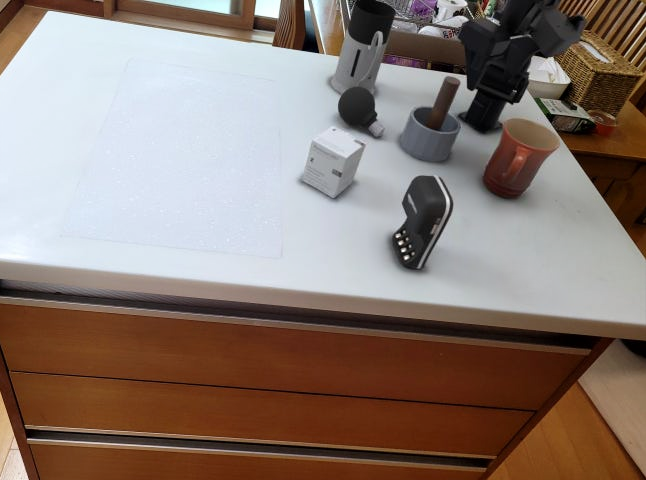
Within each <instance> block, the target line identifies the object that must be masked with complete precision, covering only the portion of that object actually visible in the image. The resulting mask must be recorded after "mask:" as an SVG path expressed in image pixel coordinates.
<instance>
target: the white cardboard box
mask: <svg viewBox="0 0 646 480" xmlns="http://www.w3.org/2000/svg"><path fill="white" fill-rule="evenodd" d="M366 146H367V142H365V141H363V140H361V139H359V138H357V137H355V135H353V134H351V133H349V132H347V131H343V130H342V129H340V128H338V127H336V126H335V125H331V126H330V127H328V128H327V129H326V130H324V131H323V132H322V133H320V134H319V135H317V136H315V137H314V138H313V139H311V143H310V148H309V151H308V155H307V159H306V162H305V165H304V170H303V173H302V177H301V181H302V182H304V183H306V184H307V185H309V186H311V187H312V188H315V189H317V190H318V191H320V192H322V193H323V194H325V195H327V196H328V197H330V198H332V199H335V198H336V197H337V196H339V194H341V193H342V192H343V191H344V190H346V188H348V187H349V186H350V185H351V184H352V183H353V182H354V179H355V176H356V174H357V170H358V168H359V165H360V163H361V160H362V157H363V154H364V151H365V148H366Z"/></svg>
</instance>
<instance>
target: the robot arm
mask: <svg viewBox="0 0 646 480" xmlns="http://www.w3.org/2000/svg"><path fill="white" fill-rule="evenodd" d="M561 1H562V0H506V1H505V3H504V5H503V7H502V9H497V10H495V11H494V13H493V15H492V19H494V20H496V21H498V23H496V22H494V21H492V20H490V19H489V18H487V17H485V16H484V17H477V18H471V19H468V20H466V21H464V22H462V23H461V25H460V29H459V31H458V33H457V35H456V37H457V39H458V40H460V44H461V45H463V48H464V49H463V50H464V56H465V57H464V58H465V70H466V71H465V72H466V73H465V74H466V89H467V90H468V91H470V92H473V91H474V92H475V91H476V93H475V95H474V96H473V99H472V100H471V103H470V105H469V107H468V109H467V110H466V111H463V112H459V113H458V114H457V118H459V119H461V120H462V121H464V122H465V123H466V124H468V125H469V126H471V127H472V128H474V129H475V130H476V131H478V132H479V133H481V134H485V133H489V132H492V131H494V130H497V129H498V130H499V129H501V128H502V129H503V124H504V123H502V122H500V121H499V119H500V117H501V114H502V112H503V111H504V109H505V108H506V105H507V104H509V105H511V106H514V105H515V104H520V102H521V100H522V98H523V97H524V95H525V93H526V91H527V89H528V87H529V85H530V83H531V82H530V79H529V78H530V74H531V72H530V71H529V69H530V67H531V64H532V58H533V57H534V56H535V55H536V54H537V53H538V52H540V53H541V54H542V55H543V56H544V57H546V58H552V57H555V56H562V55H563V54H564V53H565V52H566V51H568V49H569V48H571V46H573V45H577V44H579V43H580V42H581V37H582V36H583V35H584V34H583V33H584V30H585V28H586V26H587V24H588V19H587V18H586V16H585V15H584V14H583V13H577V14H573V15H571V16H568V13H567V12H564V13H563V12H561V10H560V9H559V6H560V3H561Z"/></svg>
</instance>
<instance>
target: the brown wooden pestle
mask: <svg viewBox="0 0 646 480" xmlns="http://www.w3.org/2000/svg"><path fill="white" fill-rule="evenodd" d="M461 84H462V83H461V80H460V79H459V78H457V77H455V76H452V75H447V76H444V78H443V81H442V84H441V86H440V88H439V90H438V94H437V96H436V99H435V102H434V104H433V105H432V107H433V108H432V110H431V113H430V115H429V118H428V120H427V122H426V123H422V125H423V126H425V127H427V128H429V129H431V130H435V131H439V132H444V131H443V129H442V128H441V127H442V125H443V122H444V120H445V118H446V116H447V113H448V112H449V111H450V110H451V109H450V108H451V106H452V105H453V102H454V99H455V97H456V95H457V92H458V91H459V88H460V86H461Z"/></svg>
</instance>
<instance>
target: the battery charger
mask: <svg viewBox="0 0 646 480" xmlns="http://www.w3.org/2000/svg"><path fill="white" fill-rule="evenodd" d="M401 206H402V209H403V210H404V213H405V215H406V218H405V220H404V222H403V224H402V225H401V226H400V227H399V228H398V229H397V230H395V232H394V233H393V234H392V236H391V240H392V243H393V246H394V249H395V252H396V254H397V257H398V259H399V261H400V263H401V264H402V265H403V266H404V267H407V268H412V269H423V268H425V266H426V263H427V262H428V259H429V258H430V256H431V254H432V253H433V250H434V248H435V246H436V245H437V243H438V242H439V240H440V237H441V236H442V235H443V234H442V233H443V232H444V230H445V228H446V226H447V224H448V222H449V220H450V218H451V216H452V214H453V210H454V198H453V197H452V195H451V193H450V190H449V188H448V187H447V185H446V183H445V181H444V179H443V178H442V177H440V176H438V175H435V174H432V175H426V174H425V175H424V174H422V175H417V176H415V177H414V178H413V179H412V180H411V182H410V183H409V185H408V187H407V189H406V191H405V194H404V195H403V199H402V201H401Z"/></svg>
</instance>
